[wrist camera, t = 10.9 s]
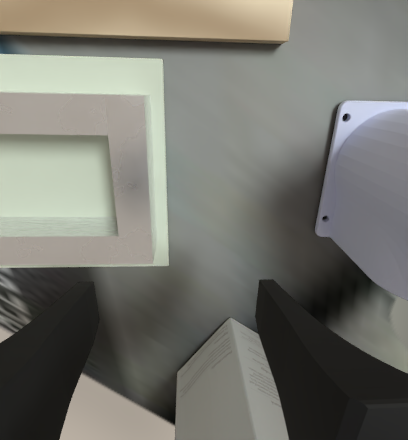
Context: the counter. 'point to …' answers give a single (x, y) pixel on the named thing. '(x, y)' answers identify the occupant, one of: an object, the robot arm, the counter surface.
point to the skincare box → (229, 390)
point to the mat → (77, 144)
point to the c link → (121, 173)
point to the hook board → (151, 19)
